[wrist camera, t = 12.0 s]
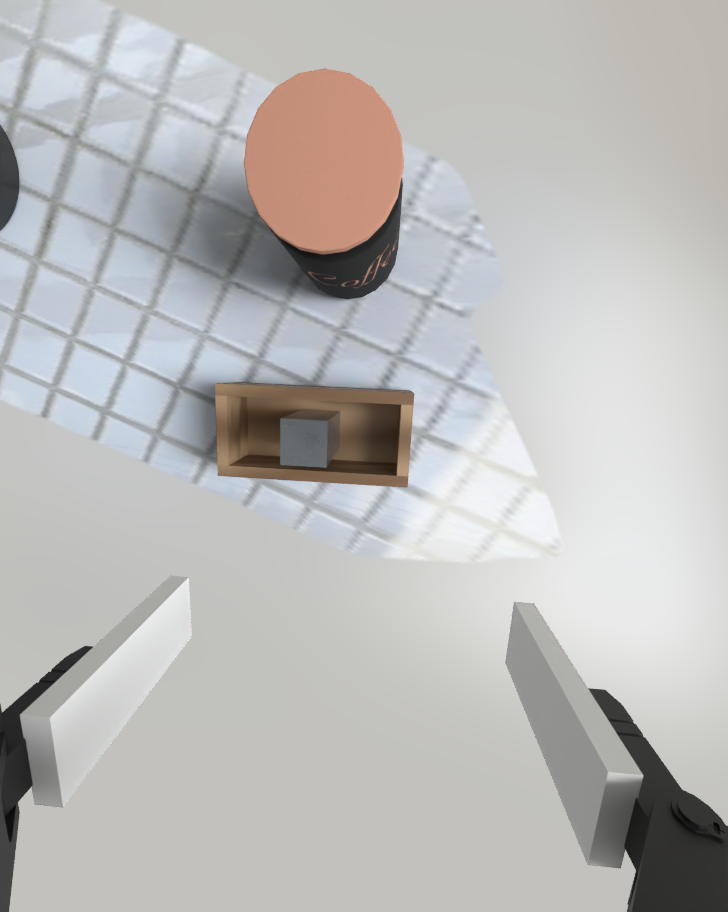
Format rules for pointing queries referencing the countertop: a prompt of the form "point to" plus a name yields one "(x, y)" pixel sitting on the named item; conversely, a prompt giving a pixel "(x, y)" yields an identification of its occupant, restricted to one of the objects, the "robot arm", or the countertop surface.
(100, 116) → the countertop surface
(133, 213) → the countertop surface
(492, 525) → the countertop surface
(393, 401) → the trough
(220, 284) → the countertop surface
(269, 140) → the coffee jar
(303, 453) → the steel bar
